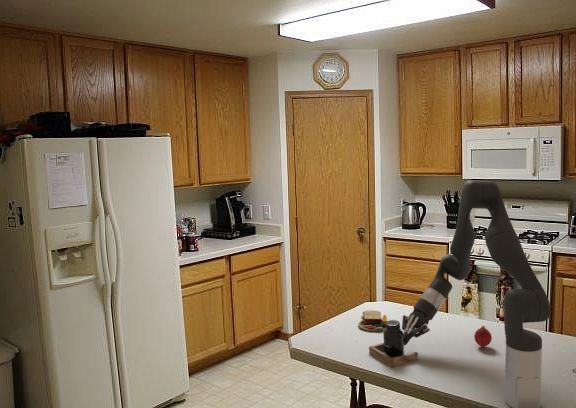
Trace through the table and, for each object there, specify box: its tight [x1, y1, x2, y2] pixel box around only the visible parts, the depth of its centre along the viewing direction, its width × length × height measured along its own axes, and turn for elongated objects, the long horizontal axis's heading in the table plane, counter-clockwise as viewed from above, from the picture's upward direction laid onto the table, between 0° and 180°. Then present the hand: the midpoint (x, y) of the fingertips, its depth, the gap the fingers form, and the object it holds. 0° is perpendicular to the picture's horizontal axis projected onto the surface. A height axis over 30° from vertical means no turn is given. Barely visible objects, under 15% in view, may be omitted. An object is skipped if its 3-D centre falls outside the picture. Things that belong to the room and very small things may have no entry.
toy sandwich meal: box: [357, 309, 388, 333], centre depth 212 cm, size 12×14×5 cm
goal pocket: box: [368, 342, 419, 368], centre depth 183 cm, size 11×13×2 cm
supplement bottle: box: [382, 319, 405, 358], centre depth 182 cm, size 7×7×12 cm
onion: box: [473, 324, 493, 348], centre depth 187 cm, size 6×6×8 cm
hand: (402, 343), depth 184 cm, fingers closed
